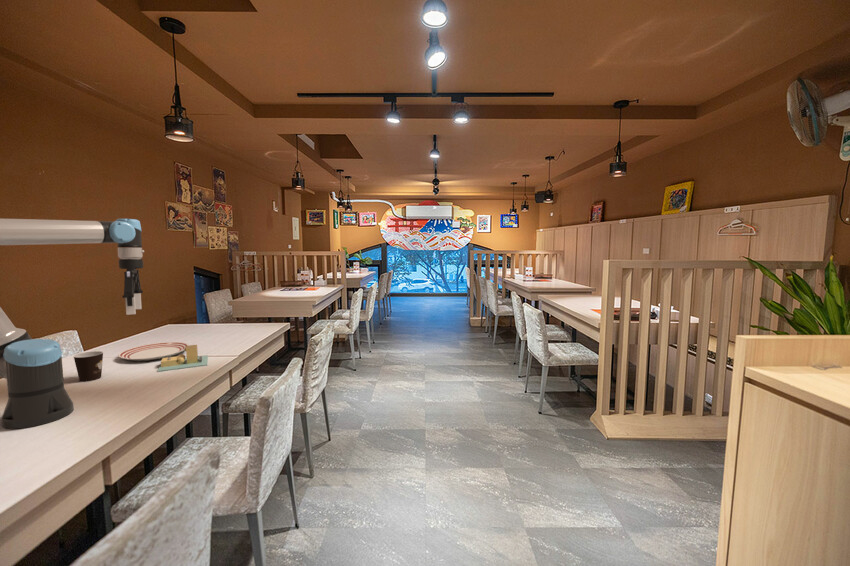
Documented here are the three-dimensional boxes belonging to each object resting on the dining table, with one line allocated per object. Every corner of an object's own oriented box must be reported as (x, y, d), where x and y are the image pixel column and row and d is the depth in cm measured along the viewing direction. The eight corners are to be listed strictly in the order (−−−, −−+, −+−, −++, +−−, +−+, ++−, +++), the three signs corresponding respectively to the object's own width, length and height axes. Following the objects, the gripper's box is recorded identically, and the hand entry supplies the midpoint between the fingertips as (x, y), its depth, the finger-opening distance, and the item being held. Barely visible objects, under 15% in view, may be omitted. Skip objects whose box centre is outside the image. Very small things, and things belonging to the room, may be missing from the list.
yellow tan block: (197, 362, 164) (196, 347, 163) (184, 364, 162) (184, 349, 161) (197, 359, 169) (197, 344, 169) (185, 360, 167) (184, 345, 166)
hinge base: (207, 365, 162) (206, 357, 161) (157, 371, 153) (157, 363, 152) (207, 356, 176) (207, 348, 175) (162, 361, 166) (161, 353, 166)
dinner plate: (153, 366, 161) (153, 359, 160) (102, 362, 166) (102, 355, 165) (202, 349, 187) (201, 343, 187) (157, 346, 192) (157, 340, 192)
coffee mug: (87, 383, 139) (85, 358, 138) (69, 381, 141) (67, 356, 140) (118, 373, 150) (116, 350, 149) (101, 371, 152) (99, 348, 151)
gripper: (137, 259, 134) (140, 315, 136) (147, 257, 155) (150, 306, 157) (110, 259, 130) (115, 317, 132) (125, 257, 152) (128, 307, 153)
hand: (134, 311), depth 145 cm, fingers open, 13 cm apart
